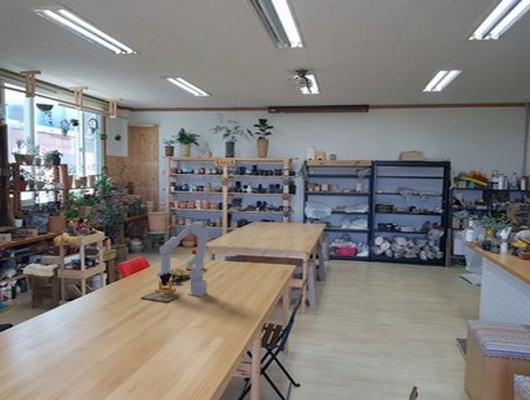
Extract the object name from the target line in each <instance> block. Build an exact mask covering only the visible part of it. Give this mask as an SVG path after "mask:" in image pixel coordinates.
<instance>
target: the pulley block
mask: <svg viewBox="0 0 530 400" xmlns="http://www.w3.org/2000/svg"><path fill="white" fill-rule="evenodd" d="M170 273H171V274H172V276H171V277H170V278H172V279H170V280H169V282H172V284H174V283H176V282H182V281H185V280H190V279H191V278H190V277H189V273H190V271H187V270H186V269H185V270H184V269H180V268H176V269H174V272H170Z"/></svg>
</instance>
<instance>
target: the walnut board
mask: <svg viewBox="0 0 530 400" xmlns="http://www.w3.org/2000/svg"><path fill="white" fill-rule="evenodd" d="M179 298H180V295H178V294H177V295H176V294H171V293H169V294H164V293H163V297H161V293H157V292H155V291H153V292H151V293H149V294H146V295H143V296H141V297H140V299H141V300H145V301H151V300H152V302H158V303H159V302H160V303H165V304H168V303H170V302H173V301H174V300H177V299H179Z"/></svg>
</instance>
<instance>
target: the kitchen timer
mask: <svg viewBox="0 0 530 400" xmlns="http://www.w3.org/2000/svg"><path fill="white" fill-rule="evenodd" d="M196 252H197V249H196V250H195V249H193V250H192V251H191V256H189V258H188V259H187V260H186V263H185V270H186V271H189V272H190V271H191V270H192V267H193V265H194V262H195V257H196ZM203 266H204V267H203V270H204V271H205V265H204V263H203Z"/></svg>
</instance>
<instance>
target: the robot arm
mask: <svg viewBox="0 0 530 400" xmlns="http://www.w3.org/2000/svg"><path fill="white" fill-rule="evenodd" d="M189 234H194V235H195V236H196V237H197V239H198V242H197V247H196V257H195V262H194V265H193V267H192V270H191V271H189V272H190V273H189V277H190V278H189V279H190V292H188V293H187V295H191V296H196V297H202V296H204V295H206V294H208V291H207V290H208V284H207V283H208V282H207V281H206V280H205V279H204V278H203V276H204V274H205V269H204V270H203V267H204V268H205V265H204V266H203V264H204V259H205V256H206V255H205V254H206V251H207V245H208V240H209V234H208V231H207V226H206V225H205V223H204V222H203V221H200V220H199V221H196V222H193V223H190V224H189V225H188V226H186V228H184V229H183V230H182V231H181V232H180V233H179V234H177V236H171V237H170V238H169V240H168V241H166V242H164V244H162V245H161V246H160V247H159V249H158V250H159V253H160V270H159V271H158V272H156V277H159V278H160V281H162V287H169V285H166V284H167V282H169V281H170V280H171V278H172V277H171V276H172V274H171V272H174V270H175V269H174V268H171V253H172V251H173V250H174V249H175V248H176V247H178V246H179V245H180V243H181V240H183V239H184V238H186V236H188V235H189Z"/></svg>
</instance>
